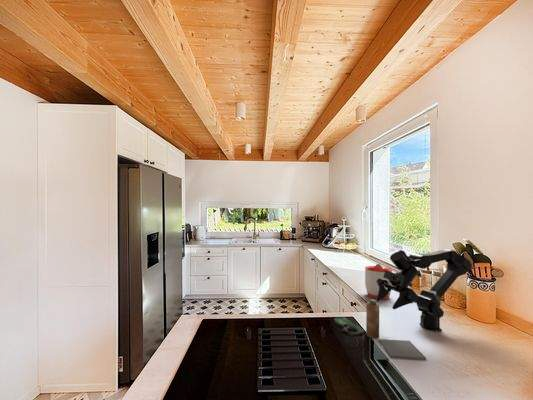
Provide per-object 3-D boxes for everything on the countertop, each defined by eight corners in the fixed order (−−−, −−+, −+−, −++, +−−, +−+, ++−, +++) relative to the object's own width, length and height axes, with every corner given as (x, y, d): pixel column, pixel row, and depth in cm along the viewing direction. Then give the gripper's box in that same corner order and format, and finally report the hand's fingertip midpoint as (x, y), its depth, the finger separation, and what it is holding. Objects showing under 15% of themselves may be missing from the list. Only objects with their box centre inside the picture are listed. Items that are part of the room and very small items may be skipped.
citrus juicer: (394, 295, 163) (394, 262, 164) (390, 303, 148) (390, 267, 149) (368, 290, 171) (368, 259, 172) (362, 297, 157) (362, 264, 158)
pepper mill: (376, 333, 111) (376, 298, 111) (381, 338, 106) (381, 302, 106) (364, 332, 111) (364, 298, 111) (368, 338, 106) (368, 302, 106)
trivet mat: (409, 342, 103) (409, 340, 103) (426, 360, 91) (426, 357, 91) (378, 341, 104) (378, 339, 104) (390, 358, 92) (390, 355, 92)
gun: (327, 318, 122) (345, 316, 125) (326, 321, 122) (345, 319, 125) (348, 334, 107) (368, 331, 110) (348, 338, 107) (368, 335, 110)
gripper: (379, 260, 122) (359, 285, 118) (413, 269, 104) (390, 299, 100) (393, 276, 124) (373, 302, 120) (428, 288, 106) (406, 318, 102)
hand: (384, 304), depth 110 cm, fingers open, 9 cm apart
